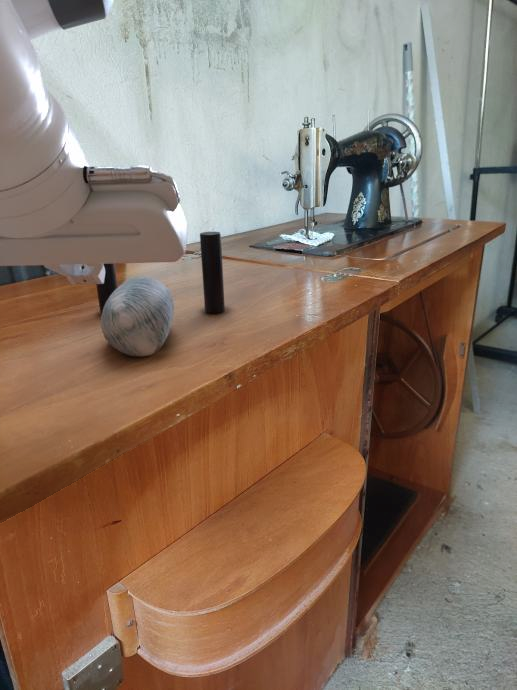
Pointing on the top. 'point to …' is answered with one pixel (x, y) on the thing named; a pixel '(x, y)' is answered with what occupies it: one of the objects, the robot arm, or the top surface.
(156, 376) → the top surface
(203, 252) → the goal posts
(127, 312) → the grey streaked stone
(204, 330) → the top surface
